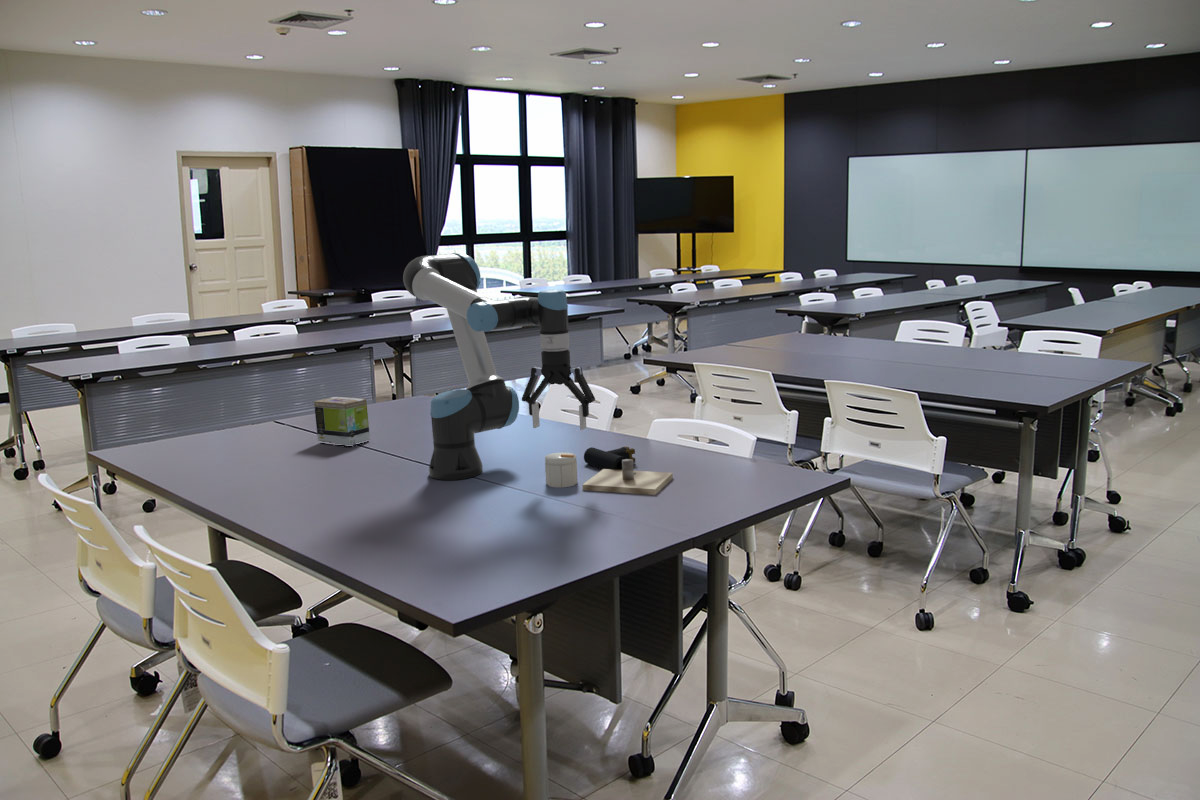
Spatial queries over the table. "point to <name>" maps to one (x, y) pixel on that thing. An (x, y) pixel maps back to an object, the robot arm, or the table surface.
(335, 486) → the table surface
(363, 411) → the tea box
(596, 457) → the pipe connector
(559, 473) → the knob
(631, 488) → the shaft base
